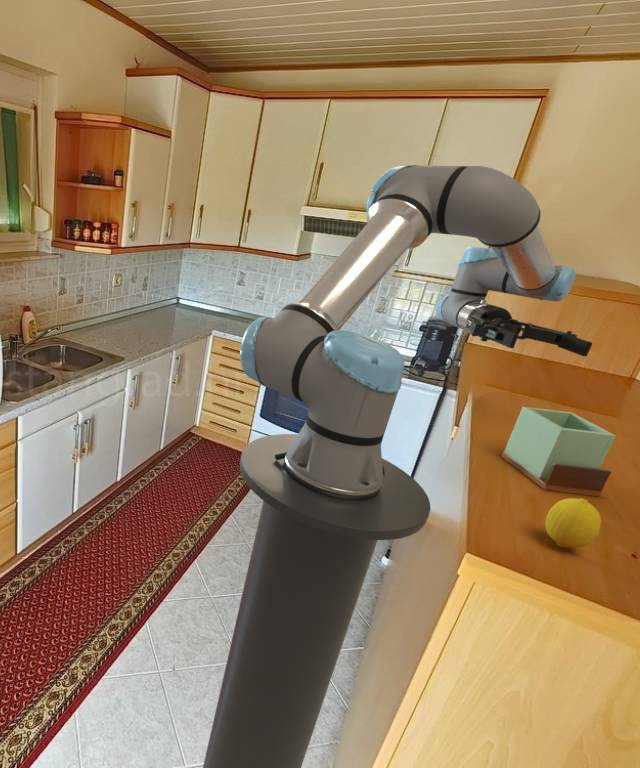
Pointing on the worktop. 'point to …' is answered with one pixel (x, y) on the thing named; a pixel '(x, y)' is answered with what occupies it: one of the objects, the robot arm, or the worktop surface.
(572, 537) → the lemon
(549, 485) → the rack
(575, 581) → the worktop surface
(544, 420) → the container
